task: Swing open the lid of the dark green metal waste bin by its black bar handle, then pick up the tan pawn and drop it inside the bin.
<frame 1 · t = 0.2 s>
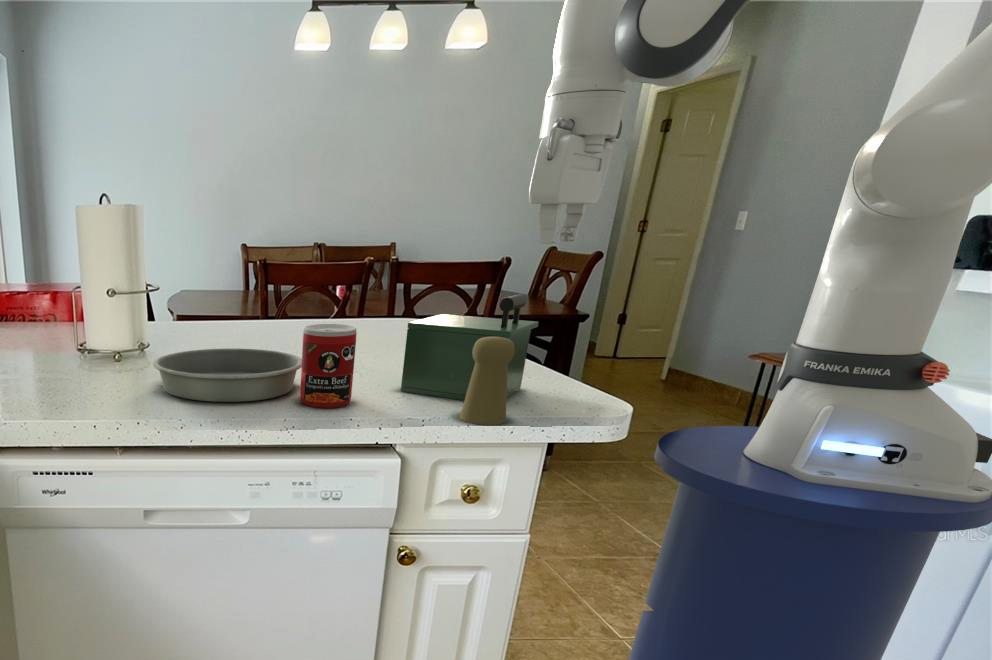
hand: (557, 242, 94), 22 cm above the worktop, tool pointing down, fingers open, 8 cm apart
bin lid: (474, 310, 109), point 12 cm above the worktop, hinge at 0.0°
cake pan: (227, 388, 118), on the worktop
waste bin: (460, 390, 114), on the worktop
canned food: (325, 403, 108), on the worktop
tan pawn: (482, 420, 98), on the worktop
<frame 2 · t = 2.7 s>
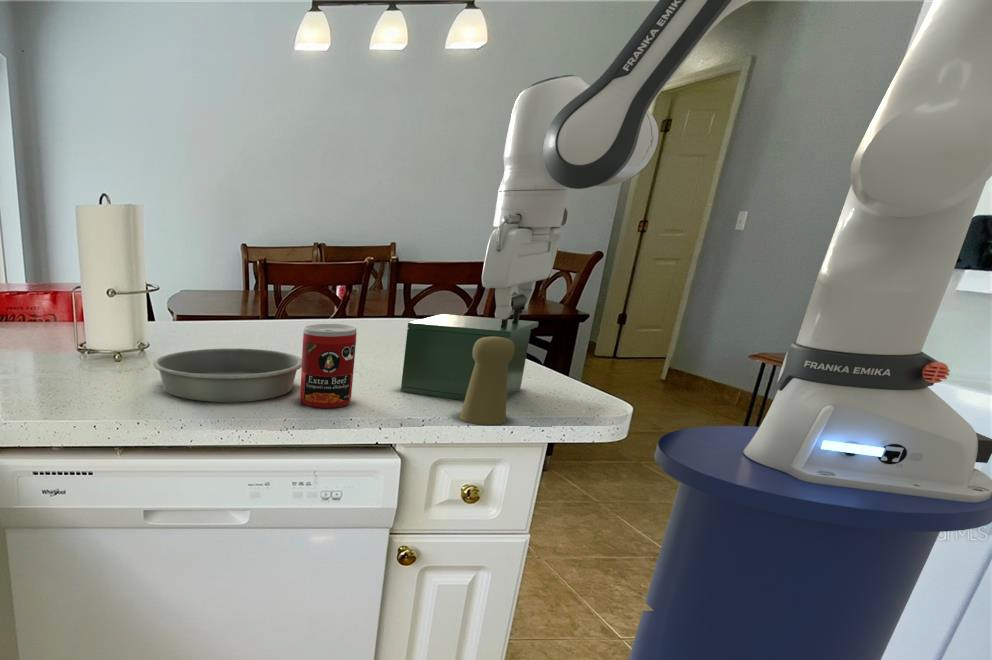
hand: (511, 315, 106), 12 cm above the worktop, tool pointing down, fingers closed on bin lid, 6 cm apart
bin lid: (474, 310, 109), point 12 cm above the worktop, hinge at 0.0°, touching gripper
everything else where it was.
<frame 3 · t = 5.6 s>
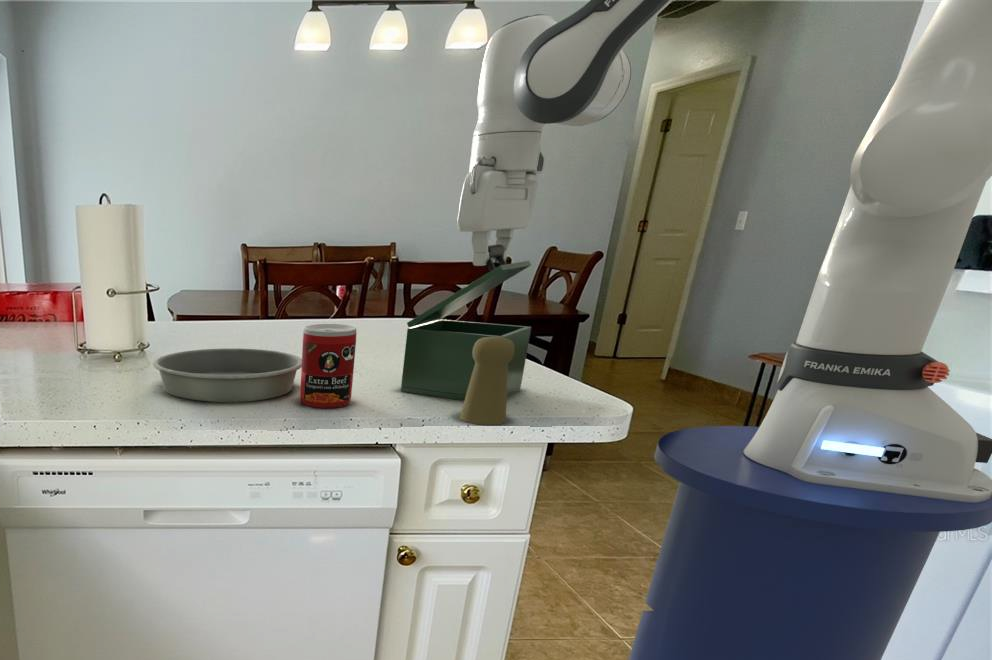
hand: (489, 264, 105), 19 cm above the worktop, tool pointing down, fingers closed on bin lid, 6 cm apart
bin lid: (462, 282, 108), point 16 cm above the worktop, hinge at 34.5°, touching gripper
everything else where it was.
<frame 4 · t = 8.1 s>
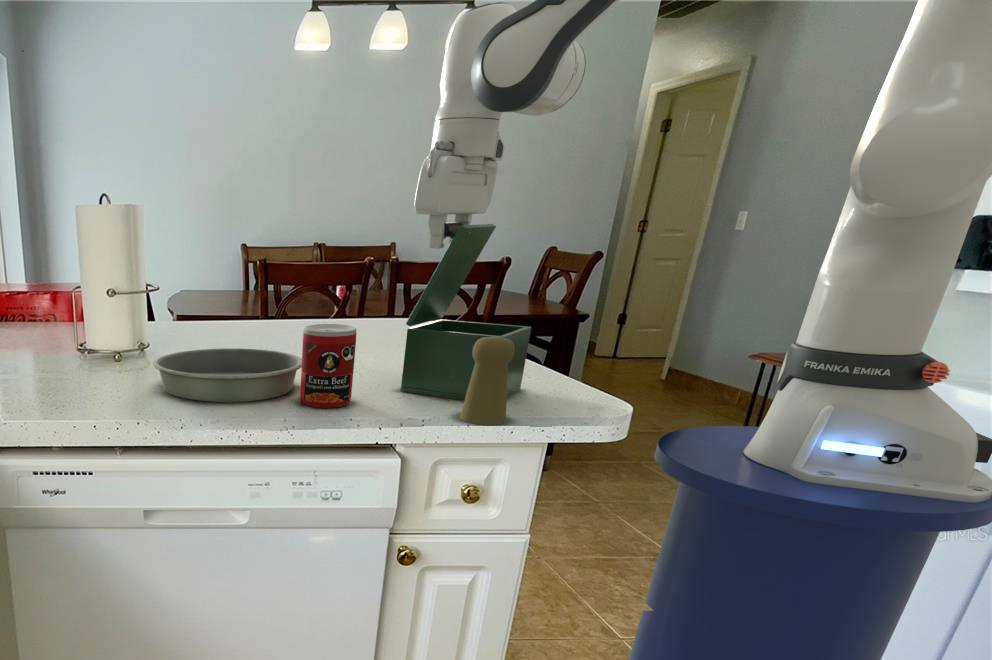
hand: (446, 247, 108), 21 cm above the worktop, tool pointing down, fingers closed on bin lid, 6 cm apart
bin lid: (439, 268, 110), point 18 cm above the worktop, hinge at 65.0°, touching gripper
everything else where it was.
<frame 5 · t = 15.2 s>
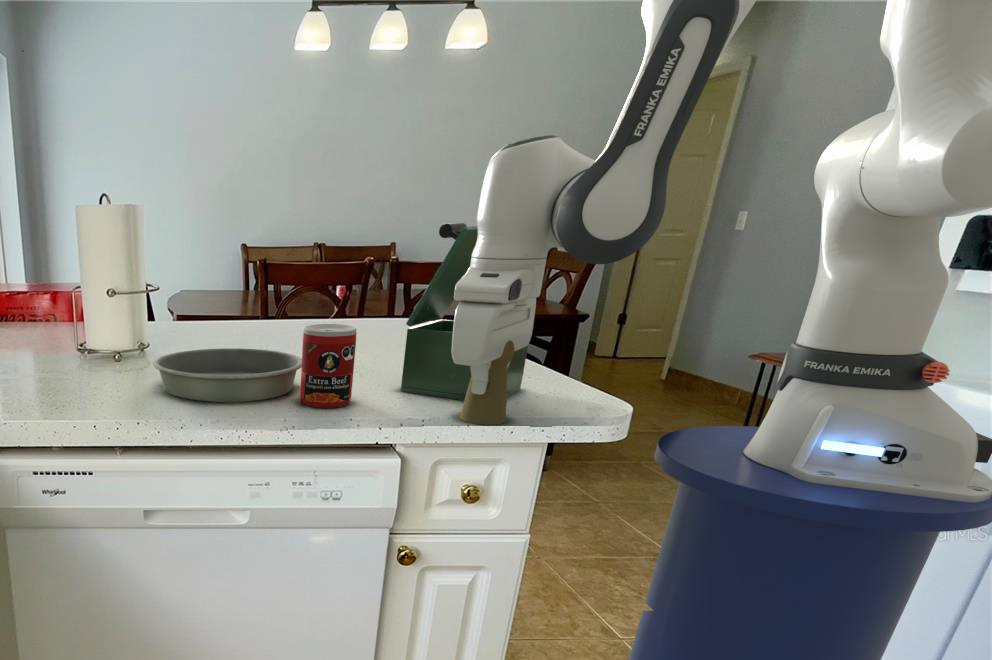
hand: (487, 389, 96), 4 cm above the worktop, tool pointing down, fingers closed on tan pawn, 4 cm apart
bin lid: (441, 269, 110), point 18 cm above the worktop, hinge at 63.1°
tan pawn: (482, 420, 98), on the worktop, touching gripper
everything else where it was.
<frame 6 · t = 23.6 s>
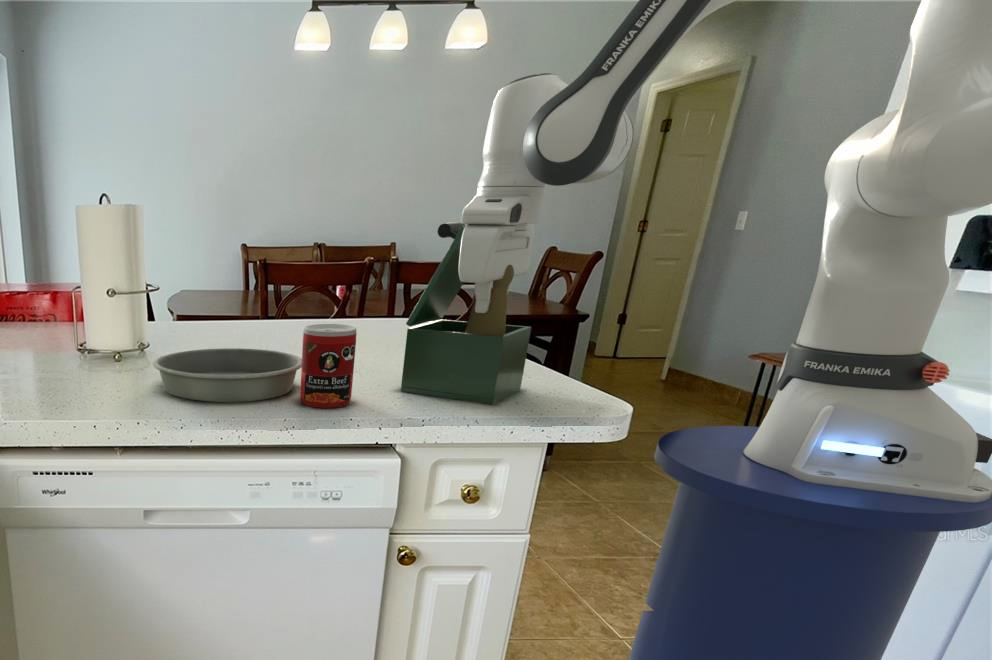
hand: (489, 310, 107), 13 cm above the worktop, tool pointing down, fingers closed on tan pawn, 5 cm apart
bin lid: (440, 268, 110), point 18 cm above the worktop, hinge at 64.1°, touching arm
tan pawn: (483, 339, 109), point 8 cm above the worktop, touching gripper
everything else where it was.
when the fingers open (13 cm above the worktop, at t = 23.6 s): tan pawn drops 8 cm, resting on waste bin.
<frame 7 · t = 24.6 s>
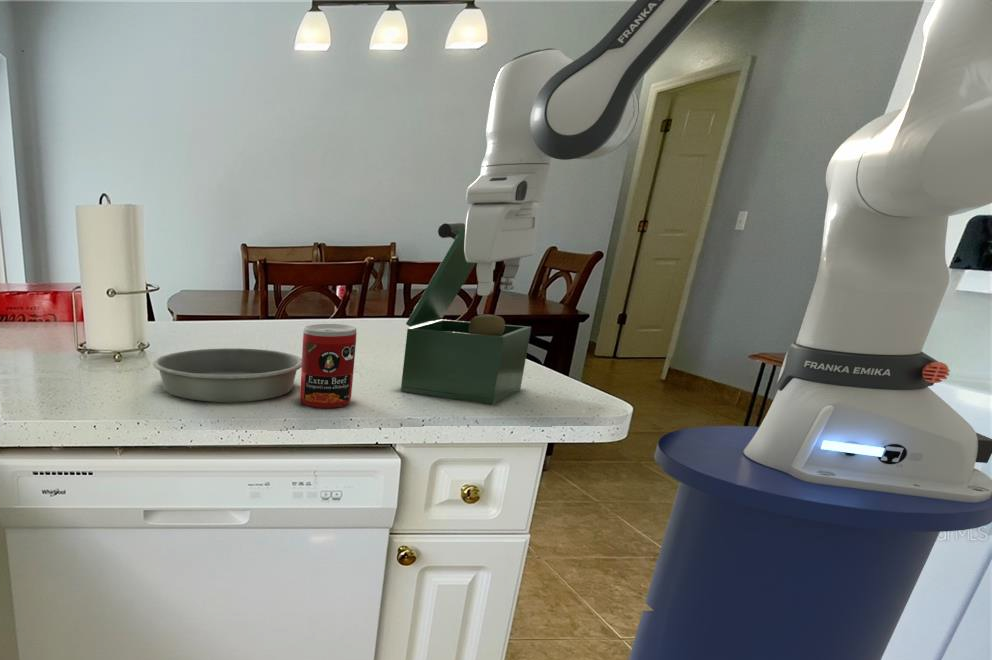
hand: (496, 292, 106), 15 cm above the worktop, tool pointing down, fingers open, 8 cm apart
bin lid: (440, 269, 110), point 18 cm above the worktop, hinge at 63.8°
tan pawn: (477, 388, 112), point 1 cm above the worktop, touching waste bin
everything else where it was.
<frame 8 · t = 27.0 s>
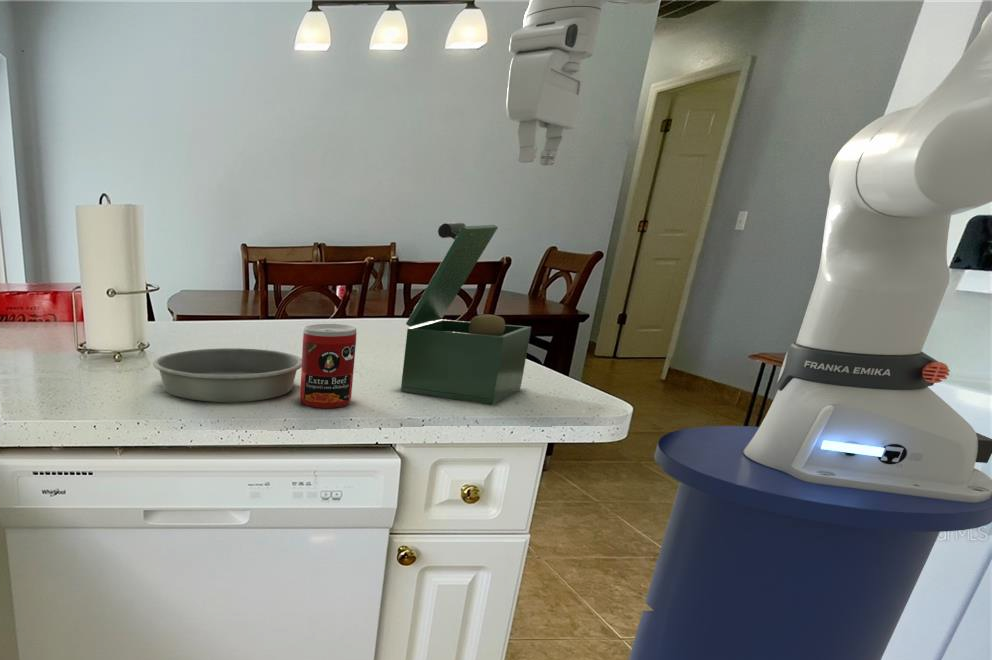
hand: (537, 163, 97), 32 cm above the worktop, tool pointing down, fingers open, 8 cm apart
nothing on the worktop moved.
at the end: bin lid at +64° (first picture: +0°); tan pawn inside the target area in the waste bin (2.6 cm from its centre), point 0.6 cm above the waste bin's base; the gripper is holding nothing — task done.
